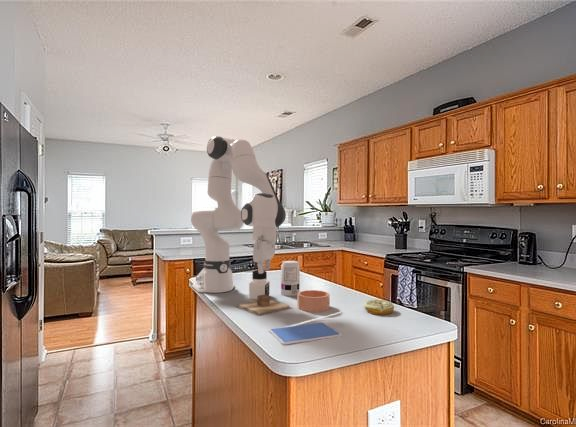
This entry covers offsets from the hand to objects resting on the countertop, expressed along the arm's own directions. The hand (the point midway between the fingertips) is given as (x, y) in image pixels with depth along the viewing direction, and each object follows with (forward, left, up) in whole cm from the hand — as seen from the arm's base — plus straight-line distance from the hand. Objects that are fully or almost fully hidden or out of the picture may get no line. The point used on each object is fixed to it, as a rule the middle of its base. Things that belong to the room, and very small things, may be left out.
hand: (264, 271), depth 134 cm
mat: (0, 0, -14) cm, 14 cm away
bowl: (+12, +15, -14) cm, 24 cm away
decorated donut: (+30, +32, -15) cm, 46 cm away
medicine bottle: (-14, +8, -15) cm, 22 cm away
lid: (0, 0, -14) cm, 14 cm away
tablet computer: (+30, -6, -15) cm, 34 cm away
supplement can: (-10, +22, -15) cm, 28 cm away
